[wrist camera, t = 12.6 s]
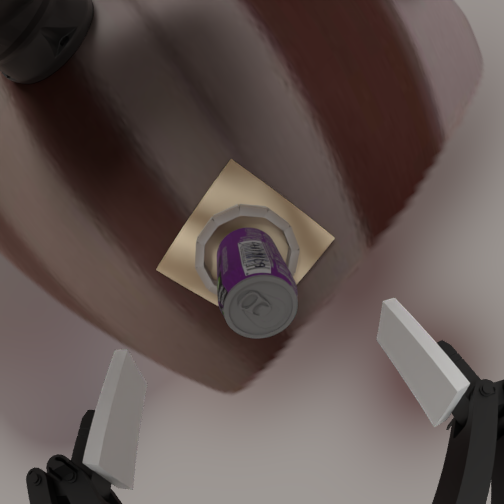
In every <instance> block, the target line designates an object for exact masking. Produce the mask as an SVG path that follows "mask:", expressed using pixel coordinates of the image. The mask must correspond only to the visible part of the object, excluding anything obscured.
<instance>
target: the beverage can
mask: <svg viewBox="0 0 504 504" xmlns="http://www.w3.org/2000/svg"><path fill="white" fill-rule="evenodd" d="M217 295H218V305H219V308H220V311H221V313H222V314H223V316H224V317H225V320H226V322H227V324H228V325H229V327H230V328H231V329H232V330H233V331H235V332H236V333H238V334H240V335H242V336H244V337H248V338H266V337H270V336H273V335H275V334H278V333H279V332H281V331H283V330H284V329H285V328H286V327H287V326H288V325H289V324H290V323H291V322H292V321H293V319H294V317H295V315H296V312H297V308H298V301H297V286H296V282H295V280H294V278H293V276H292V274H291V272H290V271H289V269H288V267H287V265H286V263H285V262H284V260H283V258H282V256H281V254H280V252H279V251H278V249H277V247H276V245H275V243H274V242H273V240H272V239H271V237H270V236H269V235H268V234H266V233H265V232H263V231H261V230H259V229H256V228H240V229H237V230H234V231H232V232H231V233H229V234H228V235H227V236H226V237H225V238H224V239H223V240H222V241H221V243H220V245H219V247H218V250H217Z"/></svg>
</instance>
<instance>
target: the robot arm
mask: <svg viewBox="0 0 504 504" xmlns="http://www.w3.org/2000/svg"><path fill="white" fill-rule="evenodd" d="M92 16H93V5H92V1H91V0H0V71H2V73H3V75H4V76H5V77H6V78H7V79H9V80H11V81H13V82H17V83H23V84H31V83H36V82H39V81H41V80H43V79H45V78H47V77H48V76H50V75H52V74H53V73H54V72H56V71H57V70H58V69H59V68H60V67H61V66H63V65H64V64H65V63H66V62H67V61H68V59H69V58H70V57H71V56H72V55H73V54H74V52H75V51H76V50H77V48H78V47H79V46H80V44H81V43H82V41H83V39H84V37H85V36H86V34H87V32H88V29H89V27H90V24H91V21H92ZM377 341H378V343H379V344H380V345H381V347H382V348H383V350H384V351H385V353H386V354H387V356H388V357H389V358H390V360H391V361H392V363H393V364H394V366H395V367H396V369H397V370H398V372H399V373H400V375H401V376H402V378H403V379H404V381H405V382H406V384H407V385H408V387H409V388H410V390H411V391H412V393H413V394H414V396H415V397H416V399H417V401H418V402H419V404H420V405H421V407H422V408H423V410H424V412H425V413H426V415H427V416H428V418H429V420H430V421H431V423H432V424H433V426H434V427H436V426H437V425H439V424H441V423H442V422H444V421H446V420H447V419H448V417H449V416H450V415H451V413H452V414H453V416H454V418H453V419H452V421H451V422H450V423H449V425H448V426H447V430H448V429H449V428H450V427H451V426H452V427H451V433H450V438H449V444H448V448H447V453H446V457H445V462H444V466H443V470H442V473H441V477H440V480H439V484H438V487H437V491H436V494H435V497H434V500H433V502H432V504H486V500H487V496H488V492H489V487H490V482H491V504H504V380H501V381H498V382H494V383H493V382H492V381H490V380H487V379H483V380H481V379H480V378H479V377H478V376H477V375H476V374H475V372H474V371H473V370H472V369H471V368H470V367H469V365H468V364H467V363H466V362H465V361H464V359H462V357H461V356H460V355H459V354H457V352H456V350H455V349H454V348H453V347H452V346H451V345H450V344H448V343H446V342H444V341H439V342H437V343H436V342H435V341H434V340H433V338H432V337H431V336H430V335H429V334H428V333H427V332H426V331H425V330H424V328H423V327H422V326H421V325H420V324H419V323H418V322H417V321H416V320H415V319H414V318H413V317H412V315H411V314H410V313H409V312H408V311H407V310H406V309H405V308H404V307H403V306H402V305H401V304H400V303H399V302H398V301H397V299H396V298H391V299H388V300H385V301H383V303H382V310H381V316H380V323H379V329H378V335H377ZM146 388H147V382H146V381H145V379H144V377H143V376H142V374H141V372H140V371H139V369H138V367H137V365H136V364H135V362H134V360H133V358H132V356H131V354H130V352H129V351H128V349H121V350H115V351H114V354H113V357H112V360H111V363H110V366H109V369H108V372H107V374H106V378H105V381H104V384H103V387H102V390H101V393H100V397H99V400H98V403H97V407H96V410H88V411H87V412H86V414H85V415H84V416H83V418H82V421H81V425H80V429H79V432H78V436H77V439H76V442H75V446H74V450H73V454H72V458H71V460H69V459H68V458H67V457H65V456H63V455H54V456H52V457H51V458H50V459H49V461H48V463H47V467H46V469H47V473H46V472H44V471H43V470H41V469H39V468H33V469H31V470H30V471H29V472H28V474H27V477H26V482H27V489H28V494H29V500H30V504H122V503H121V501H120V500H119V499H118V497H117V496H116V494H115V493H114V492H113V491H112V489H111V484H113V485H114V486H116V487H118V488H123V489H131V490H133V482H134V473H135V463H136V454H137V446H138V439H139V431H140V425H141V418H142V411H143V405H144V399H145V394H146Z"/></svg>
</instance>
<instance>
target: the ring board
mask: <svg viewBox="0 0 504 504" xmlns="http://www.w3.org/2000/svg"><path fill="white" fill-rule="evenodd" d="M240 228H256V229H259V230H261V231H263V232H265V233H266V234H268V235H269V236H270V237H271V239H272V240H273V242H274V243H275V245H276V247H277V249H278V251H279V252H280V254H281V256H282V258H283V260H284V262H285V263H286V265H287V267H288V269H289V271H290V272H291V274H292V276H293V278H294V280H295V282H296V285H297V284H298V282H299V281H300V280H301V279H302V278H303V277H304V275H305V274H306V273H307V272H308V271H309V269H310V268H311V267H312V266H313V265H314V263H315V262H316V261H317V260H318V259H319V257H320V256H321V255H322V254H323V252H324V251H325V250H326V249H327V247H328V246H329V245H330V244H331V243H332V241H333V240H334V239H335V238H334V237H333V236H332V235H331V234H330V233H328V232H327V231H326V230H325V229H323V228H322V227H321V226H320V225H318V224H317V223H316V222H315V221H313V220H312V219H311V218H310V217H308V216H307V215H306V214H305V213H303V212H302V211H301V210H299V209H298V208H297V207H296V206H294V205H293V204H292V203H290V202H289V201H288V200H287V199H285V198H284V197H283V196H281V195H280V194H279V193H277V192H276V191H275V190H273V189H272V188H271V187H269V186H268V185H267V184H265V183H264V182H263V181H261V180H260V179H258V178H257V177H256V176H254V175H253V174H252V173H250V172H249V171H247V170H246V169H245V168H243V167H242V166H240V165H239V164H238V163H236V162H235V161H233V160H232V159H230V161H229V162H228V163H227V165H226V166H225V168H224V169H223V170H222V172H221V173H220V174H219V176H218V177H217V179H216V180H215V181H214V183H213V184H212V186H211V187H210V188H209V190H208V191H207V193H206V194H205V195H204V197H203V198H202V200H201V201H200V203H199V204H198V206H197V207H196V208H195V210H194V211H193V213H192V214H191V216H190V217H189V219H188V220H187V222H186V223H185V225H184V226H183V228H182V229H181V231H180V232H179V234H178V235H177V237H176V238H175V240H174V242H173V243H172V245H171V246H170V248H169V249H168V251H167V252H166V254H165V256H164V257H163V259H162V260H161V262H160V264H159V265H158V267H157V269H156V270H157V271H159V272H161V273H162V274H164V275H165V276H167V277H169V278H170V279H172V280H174V281H175V282H177V283H179V284H181V285H182V286H184V287H186V288H187V289H189V290H191V291H192V292H194V293H196V294H198V295H199V296H201V297H203V298H205V299H206V300H208V301H210V302H212V303H214V304H215V305H217V306H219V305H218V295H217V250H218V247H219V245H220V243H221V241H222V240H223V239H224V238H225V237H226V236H227V235H228V234H229V233H231V232H232V231H234V230H237V229H240Z"/></svg>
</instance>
